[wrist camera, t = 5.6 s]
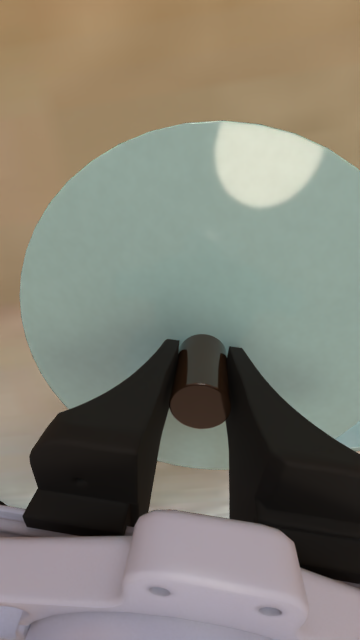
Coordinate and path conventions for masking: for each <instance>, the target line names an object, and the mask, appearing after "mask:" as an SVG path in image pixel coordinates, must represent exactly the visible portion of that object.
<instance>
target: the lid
mask: <svg viewBox="0 0 360 640" xmlns="http://www.w3.org/2000/svg"><path fill="white" fill-rule="evenodd" d="M20 307H21V318H22V323H23V327H24V332H25V336H26V340H27V342H28V345H29V348H30V351H31V353H32V356H33V358H34V360H35V362H36V364H37V366H38V368H39V370H40V372H41V374H42V376H43V377H44V379H45V380H46V382H47V383H48V385H49V386H50V388H51V389H52V391H53V392H54V393H55V394H56V395H57V397H58V398H59V399H60V400H61V401H62V403H63V404H64V405H65V406H66V407H67V408H68V409H71V408H74V407H76V406H79V405H81V404H83V403H86V402H88V401H90V400H92V399H94V398H96V397H98V396H100V395H102V394H104V393H106V392H107V391H109V390H111V389H112V388H114V387H115V386H117V385H118V384H120V383H121V382H123V381H124V380H126V379H127V378H128V377H130V376H131V375H132V374H133V373H135V372H136V371H137V370H138V369H139V368H140V367H141V366H142V365H143V364H145V363H146V362H147V361H148V360H149V359H150V358H151V356H152V355H153V354H154V353H155V352H156V351H157V350H158V349H159V348H160V346H161V345H162V344H163V342H164V341H165V340H166V339H173V340H180V341H179V352H178V359H177V364H176V369H175V374H174V379H173V384H172V389H171V394H170V399H169V410H168V414H167V418H166V421H165V425H164V428H163V432H162V436H161V441H160V446H159V452H158V458H157V461H160V462H164V463H168V464H172V465H176V466H182V467H189V468H197V469H209V470H229V447H228V436H227V428H226V421H225V420H226V419H227V418H228V417H229V415H230V412H231V398H230V387H229V376H228V365H227V355H228V350H229V346H231V347H239V348H243V350H244V351H245V353H246V354H247V356H248V357H249V358H250V360H251V361H252V363H253V364H254V366H255V367H256V368H257V370H258V371H259V372H260V373H261V375H262V376H263V377H264V379H265V380H266V381H267V382H268V383H269V384H270V385H271V387H272V388H273V389H274V390H275V391H276V392H277V393H278V394H279V395H280V396H281V397H282V398H283V399H284V400H285V401H286V402H287V403H288V404H289V405H290V406H292V407H293V408H294V409H295V410H296V411H297V412H299V413H300V414H301V415H302V416H304V417H305V418H306V419H307V420H309V421H310V422H311V423H313V424H314V425H315V426H317V427H318V428H319V429H321V430H322V431H324V432H325V433H327V434H328V435H329V436H331V437H332V438H334V439H335V438H337V437H338V436H340V435H342V434H343V433H344V432H346V431H347V430H349V429H350V428H351V427H353V426H354V425H355V424H357V423H358V422H359V421H360V170H359V169H358V168H356V167H355V166H353V165H352V164H350V163H349V162H348V161H346V160H345V159H343V158H342V157H340V156H339V155H337V154H336V153H334V152H333V151H331V150H330V149H329V148H326V147H324V146H322V145H320V144H318V143H315V142H313V141H311V140H309V139H307V138H304V137H302V136H300V135H298V134H296V133H292V132H288V131H284V130H281V129H277V128H273V127H269V126H266V125H262V124H255V123H244V122H234V121H223V120H221V121H207V122H192V123H183V124H179V125H175V126H170V127H166V128H162V129H157V130H153V131H150V132H147V133H145V134H142V135H140V136H137V137H135V138H132V139H130V140H128V141H125V142H123V143H120V144H118V145H117V146H115V147H113V148H112V149H110V150H108V151H107V152H105V153H104V154H102V155H100V156H99V157H97V158H95V159H94V160H92V161H91V162H89V163H88V164H87V165H86V166H85V167H84V168H83V169H81V170H80V171H79V172H78V173H77V174H76V175H74V176H73V177H72V178H71V179H70V180H69V181H68V182H67V183H66V184H65V185H64V186H63V188H62V189H61V190H60V191H59V192H58V194H57V195H56V196H55V197H54V198H53V200H52V201H51V202H50V203H49V205H48V206H47V208H46V210H45V212H44V213H43V215H42V217H41V218H40V220H39V222H38V223H37V225H36V227H35V229H34V232H33V234H32V237H31V240H30V242H29V245H28V247H27V250H26V254H25V258H24V263H23V267H22V272H21V283H20Z"/></svg>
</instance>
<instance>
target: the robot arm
mask: <svg viewBox="0 0 360 640" xmlns="http://www.w3.org/2000/svg"><path fill="white" fill-rule="evenodd" d="M179 341H180V340H173V339H166V340H165V341H164V342H163V344H162V345H161V346H160V348H159V349H158V350H157V351H156V352H155V353H154V354H153V355H152V356H151V358H150V359H149V360H148V361H147V362H146V363H145V364H143V365H142V366H141V367H140V368H139V369H138V370H137V371H136V372H135V373H133V374H132V375H131V376H130V377H128V378H127V379H126V380H124V381H123V382H121V383H120V384H118V385H117V386H115V387H114V388H112V389H111V390H109V391H107V392H106V393H104V394H102V395H100V396H98V397H96V398H94V399H92V400H90V401H88V402H86V403H83V404H81V405H79V406H76V407H74V408H71V409H69V410H66V411H64V412H61V413H59V414H58V415H57V416H56V417H55V419H54V420H53V421H52V422H51V423H50V425H49V426H48V427H47V428H46V430H45V431H44V433H43V434H42V436H41V437H40V439H39V440H38V442H37V443H36V445H35V446H34V448H33V449H32V451H31V454H30V464H31V467H32V470H33V473H34V477H35V480H36V483H37V486H38V489H37V491H36V493H35V495H34V496H33V498H32V500H31V502H30V503H29V505H28V507H27V509H22V508H16V507H10V506H4V505H0V640H360V454H358V453H357V452H355V451H353V450H352V449H350V448H349V447H347V446H345V445H344V444H342V443H340V442H339V441H337V440H335V439H334V438H332V437H331V436H329V435H328V434H327V433H325V432H324V431H322V430H321V429H319V428H318V427H317V426H315V425H314V424H313V423H311V422H310V421H309V420H307V419H306V418H305V417H304V416H302V415H301V414H300V413H299V412H297V411H296V410H295V409H294V408H293V407H292V406H290V405H289V404H288V403H287V402H286V401H285V400H284V399H283V398H282V397H281V396H280V395H279V394H278V393H277V392H276V391H275V390H274V389H273V388H272V387H271V385H270V384H269V383H268V382H267V381H266V380H265V379H264V377H263V376H262V375H261V373H260V372H259V371H258V370H257V368H256V367H255V366H254V364H253V363H252V361H251V360H250V358H249V357H248V356H247V354H246V353H245V351H244V350H243V348H239V347H231V346H229V350H228V355H227V365H228V376H229V387H230V398H231V412H230V415H229V417H228V418H227V419H226V420H225V421H226V428H227V436H228V447H229V492H230V519H227V518H221V517H215V516H208V515H202V514H196V513H190V512H184V511H177V510H154V511H151V512H149V513H148V510H149V504H150V498H151V492H152V486H153V480H154V475H155V469H156V463H157V458H158V452H159V446H160V441H161V436H162V432H163V428H164V425H165V421H166V418H167V414H168V410H169V399H170V394H171V389H172V384H173V379H174V374H175V369H176V364H177V359H178V352H179Z"/></svg>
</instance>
